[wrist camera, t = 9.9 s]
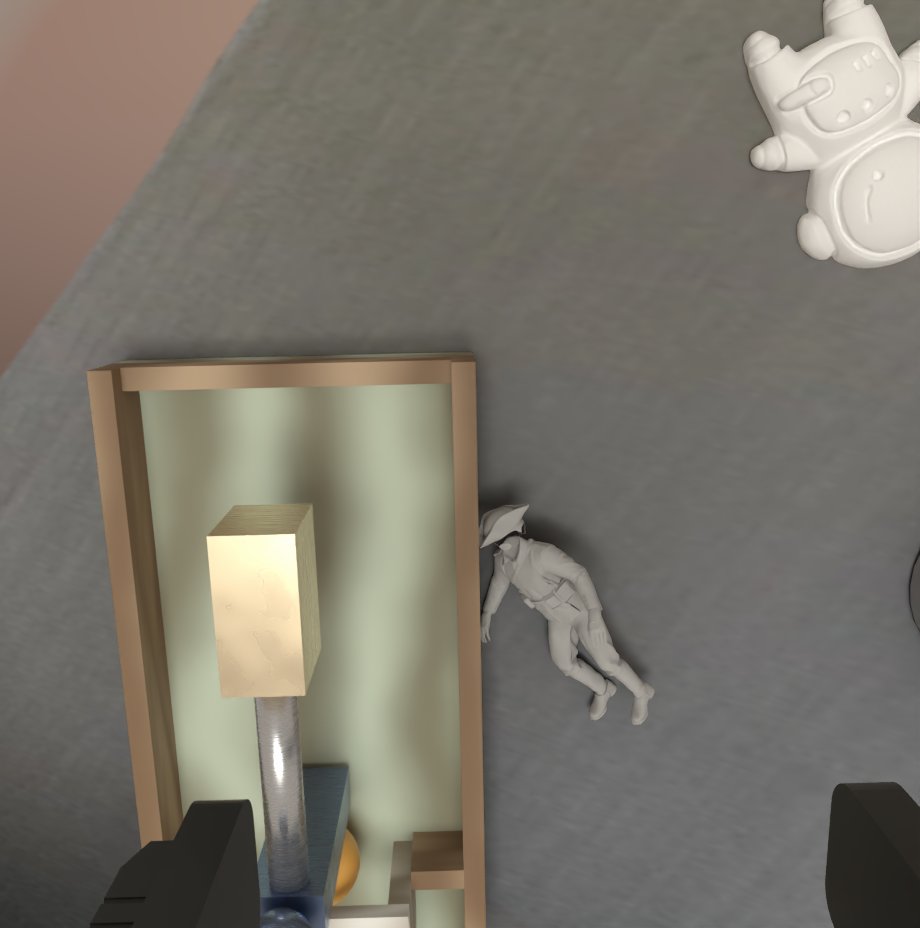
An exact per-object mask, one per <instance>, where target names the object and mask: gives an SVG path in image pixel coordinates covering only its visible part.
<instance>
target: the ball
mask: <svg viewBox="0 0 920 928" xmlns="http://www.w3.org/2000/svg"><path fill="white" fill-rule="evenodd" d="M359 869H360V853H359V849H358V845H357V843H356V841H355V839H354V837H353V835H352V834H351V833H350V832H349V830H347V829H346V833H345V838H344V844H343V850H342V855H341V861H340V866H339V872H338V878H337V883H336V889H335V894H334V900H333V905H335V904H337V903H338V902H340V901H341V900H342V899H344V898H345V897H346V896H347V895H348V893H349V892H350V891H351V889H352V888H353V886H354V884H355V882H356V880H357V877H358V874H359Z"/></svg>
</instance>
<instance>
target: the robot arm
mask: <svg viewBox="0 0 920 928" xmlns="http://www.w3.org/2000/svg"><path fill="white" fill-rule="evenodd" d="M910 597H911V608H912V612H913V616H914V620H915V622H916V624H917V626H918V628H919V630H920V555H919V557H918V560H917V562H916V564H915V566H914V570H913V575H912V580H911V585H910ZM825 889H826V899H827V905H828V909H829V913H830V917H831V920H832V923H833V925H834V928H920V807H919V806H918V805H917V804H916V802H915V801H914V800H913V799H912V798H911V797H910V796H909V794H908V793H907V792H906V791H905V790H904V789H903V788H902V787H901V786H900V785H899V784H897V783H895V782H879V783H845V784H838V785H837V786H836V787H835V789H834V791H833V795H832V802H831V814H830V827H829V840H828V853H827V866H826V879H825ZM259 925H260V888H259V876H258V864H257V852H256V840H255V828H254V816H253V809H252V805H251V802H250V800H249V799H233V800H198V801H194V802H193V803H192V804H191V805H190V807H189V809H188V811H187V813H186V815H185V817H184V819H183V821H182V824H181V826H180V828H179V830H178V832H177V834H176V836H175V838H174V840H169V841H150V842H149V843H148V844H147V845H146V846H145V847H143V848H142V849H141V850H140V851H139V852H138V853H137V854H136V855H134V856H133V857H132V858H131V859H130V860H129V861H128V862H127V863H125V864H124V865H123V866H122V867H121V868H120V870H119V872H118V874H117V876H116V877H115V879H114V881H113V883H112V885H111V887H110V888H109V890H108V892H107V894H106V896H105V898H104V904H101V905H100V907H99V909H98V910H97V912H96V914H95V916H94V918H93V920H92V921H91V923H90V928H259Z"/></svg>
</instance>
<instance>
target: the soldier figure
mask: <svg viewBox="0 0 920 928" xmlns="http://www.w3.org/2000/svg"><path fill="white" fill-rule="evenodd" d="M528 507H529V504H521V505H504V506H501V507H499V508H497V509H493V510H491V511H488V512H486V513H485V514H484V515H483V516H482V521H481V525H480V527H479V548H482V547H485V546H487V545H489V544H491V543H492V542H496V541H498V540H500V539H502V538H503V537H505V536H506V535H507V534H509V533H510V532H512V531H515V530H516V531H518V532H522V531H521V528H522V526H523V524H525V523H524V521H523V519H522V516H523V514H524V512H525V511H526V510H527V508H528ZM524 530H525V528H524ZM525 532H526V530H525ZM494 544H495V543H494ZM496 545H497V544H496ZM497 546H498V545H497ZM499 547H500V549H498V550H497V551H496V552H495V554H494V556H495V564H494V566H495V567H494V570H495V571H494V574H493V577H492V578H491V583H490V586H489V590H488V593H487V597H486V600H485V603H484V606H483V613H482V615H481V620H480V634H481V641H482V642H483V643H484V642H485V643H487V640H486V637H485V635H486V636H487V638H488V640H489V641H490V636H489V627H490V624H491V615H492V613H495V612H496V611H497V609H498V606H499V604H500V602H501V600H502V598H503V597H504V594H505V593H506V591H507V589H508V585H509V583H510V582H511V583H513V584H514V585H515V586H516V587H517V588H518V591H519V593H520V594H521V595H520V597H521V598H522V600H523V601H524V602H525V603H526V604H527V605H528V606H529V607H530V608H531V609H532V608H533V607H536V609H537V610H538V611H540V612H541V613H542V614H543V615H544V616H545V618H546V619H548V641H549V646H550V653H551V657H552V660H553V662H554V663H555V664H556V665H557V666H558V668H559V669H560V670H562V672H563V673H564V675H566V676H568V675H569V676H571V677H572V678H574V679H576V680H578V681H580V682H582V683H583V684H585V685H586V686H588V687H590V688H591V689H592V690H593V691H595V698H594V700H593V702H592V705H591V707H590V710H589V716H590V719H592V720H598V719H599V718H601V717H602V716H603V715H604V714H605V712H606V710H607V707H606V703H607V700H608V698H609V697H610V696H611V697H612V696H613V695H614V693H615V692H616V689H617V687H616V686H615V685H614V684H613V683H612V682H611V681H609V680H608V679H606V680H604V678H603V676H602V675H601V674H599V673H598V672H596V671H595V670H594V669H593V668H592V667H591V666H589V665H588V664H586V663H585V662H584V661H583V660H582V659H579V658H577V657H576V655H577V654H578V650H577V648H576V646H577V644H578V641H579V638H580V640H581V642H582V644H583V645H584V647H585V648H586V649H587V650H588V652H589V654H590V655H591V656H592V657H593V658H594V660H595V661H596V663H597V664H598V666H599V667H600V668H601V669H602V670H604V671H606V673H607V674H608V675H609V676H615V677H616V678H617V679H618V680H619V681H621V682H622V683H623V684H624V685H625V686H626V687H627V688H628V689H629V690H631V691H632V692H633V694H634V702H633V706H632V710H631V716H630V717H631V721H632V724H634V725H639V724H641V723H642V722H644V720H645V719H646V717H647V715H648V710H647V703H648V700H649V699H651V698H652V697H653V695H654V688H653V687H651V685H650V684H648V683H646V682H644V681H642V680H640V678H639V677H638V676H637V675H636V673H635V672H634V671H633V670H632V669H631V667H630V666H629V665H628V664H627V663H626V662H625V661H624V660H623V659H619V655H618V653H616V651H615V648H614V647H613V643H612V639H611V637H610V634H609V632H608V630H607V628H606V625H605V622H604V620H603V618H602V615H601V610H603V608H602V606H601V603H600V601H599V599H598V596H597V593H596V590H595V588H594V585H593V583H592V581H591V578H590V576H589V574H588V572H587V570H586V569H585V568H584V567H583V566H581V565H580V564H577V563H575V561H574V560H573V559H572V558H571V557H569V556H568V555H566V553H564V552H563V551H561V550H560V549H559V548H556V546H555V545H552V544H550V543H543V542H539V541H534V540H533V539H528V540H524V539H523V538H522V537H520V535H519V536H510V537H508V538H506V540H505V541H504V543H503V544H501V545H500V546H499Z"/></svg>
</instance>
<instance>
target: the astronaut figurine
mask: <svg viewBox="0 0 920 928" xmlns="http://www.w3.org/2000/svg"><path fill="white" fill-rule="evenodd" d="M823 26H824V38H823V39H821V40H819V41H817V42H815V43H813V44H811V45H809V46H807V47H806V48H804V49H802V50H801V51H799V52H794V51H793V50H792V49H791V48H790V46H789V45H786V46H785V47H784V48H783V49H780V47H779V45H780V42H779V40H778V38H776V37H775V36H773V35H769V34H767V33H766V32H764V31H757V32H755V33H753V34H752V35H750V36H749V37H748V38H747V40H746V41H745V43H744V46H743V54H744V60H745V63H746V65H747V68H748V73H749V78H750V81H751V84H752V86H753V89H754V91H755V94H756V96H757V98H758V100H759V102H760V104H761V106H762V108H763V110H764V112H765V114H766V116H767V118H768V120H769V122H770V125H771V127H772V130H773V133H774V136H773V137H770V138H768V139H766V140H765V141H764V142H762V143H761V144H760V145H758V146H756V147H755V148H753V149H752V151H751V154H750V159H751V162H752V164H753V166H755V167H756V168H758V169H761V170H766V171H774V170H778V171H782V172H791V171H802V170H810V177H809V181H808V187H807V194H806V207H807V208H808V213H806V214H804V215H802V216H801V217H800V219H799V221H798V224H797V238H798V241H799V244H800V246H801V248H802V250H803V251H804V252H806V253H807V254H808V255H809V256H811V257H812V258H814V259H817V260H826V259H828V258H829V257H830V256H832V257H833V259H834V260H835V261H836V262H838V263H840V264H843V265H847V266H850V267H855V268H877V267H883V266H888V265H891V264H895V263H897V262H900V261H903V260H905V259H907V258H909V257H911V256H913V255H915V254H916V253H918V252H919V251H920V124H919V123H916V122H914V121H911V120H910V119H908V118H907V115H908V114H909V113H910V112H911V110H912V109H913V108H914V107H915V106H916V105H917V103H918V102H919V101H920V40H918V41H916V42H915V43H913V44H912V45H911V46H910V47H908V48H907V49H906V50H904V51H903V52H902V53H901V54H900V55H899V56H898V55H897V54H896V52H895V50H894V49H893V47H892V45H891V43H890V40H889V38H888V35H887V33H886V30H885V28H884V26H883V24H882V21H881V19H880V17H879V15H878V13H877V12H876V10H875V8H874V7H873V5H871V4H870V5H865V4H864V0H825V1H824V3H823Z"/></svg>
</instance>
